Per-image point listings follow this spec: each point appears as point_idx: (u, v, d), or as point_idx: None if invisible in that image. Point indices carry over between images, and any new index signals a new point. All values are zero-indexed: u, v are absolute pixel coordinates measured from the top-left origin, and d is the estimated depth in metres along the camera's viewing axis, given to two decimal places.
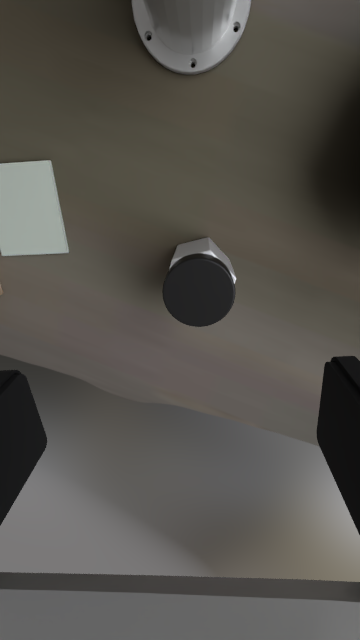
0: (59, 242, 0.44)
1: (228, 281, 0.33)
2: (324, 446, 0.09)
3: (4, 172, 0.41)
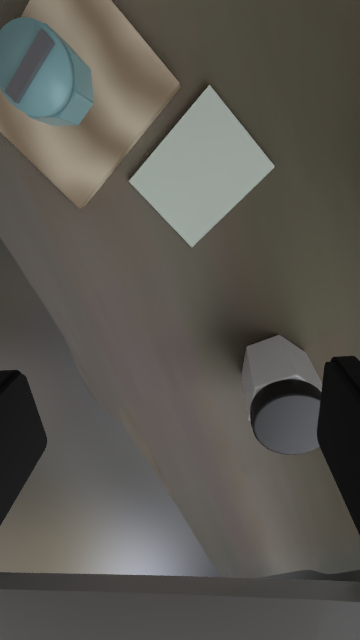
0: (196, 232, 0.35)
1: None
2: (324, 446, 0.09)
3: (225, 125, 0.31)
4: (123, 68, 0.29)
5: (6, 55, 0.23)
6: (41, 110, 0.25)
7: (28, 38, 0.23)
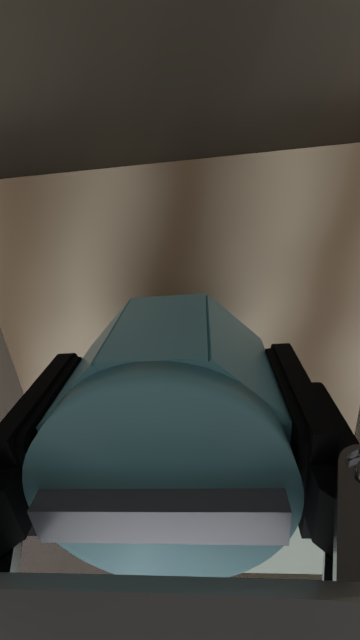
0: None
1: None
2: None
3: None
4: None
5: (116, 440, 0.06)
6: (103, 561, 0.08)
7: (224, 465, 0.06)
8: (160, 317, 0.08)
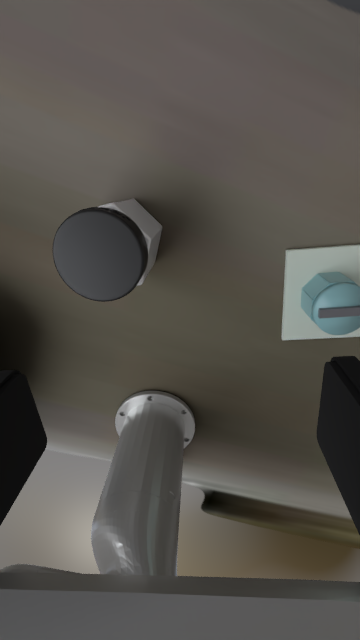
0: (293, 263, 0.37)
1: (64, 276, 0.28)
2: (324, 446, 0.09)
3: None
4: None
5: (338, 295, 0.33)
6: (325, 329, 0.35)
7: (357, 300, 0.33)
8: (333, 276, 0.36)
